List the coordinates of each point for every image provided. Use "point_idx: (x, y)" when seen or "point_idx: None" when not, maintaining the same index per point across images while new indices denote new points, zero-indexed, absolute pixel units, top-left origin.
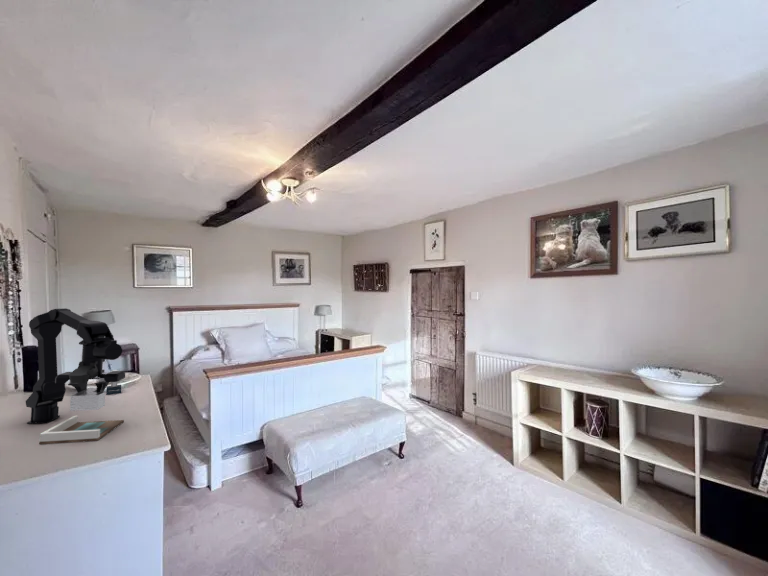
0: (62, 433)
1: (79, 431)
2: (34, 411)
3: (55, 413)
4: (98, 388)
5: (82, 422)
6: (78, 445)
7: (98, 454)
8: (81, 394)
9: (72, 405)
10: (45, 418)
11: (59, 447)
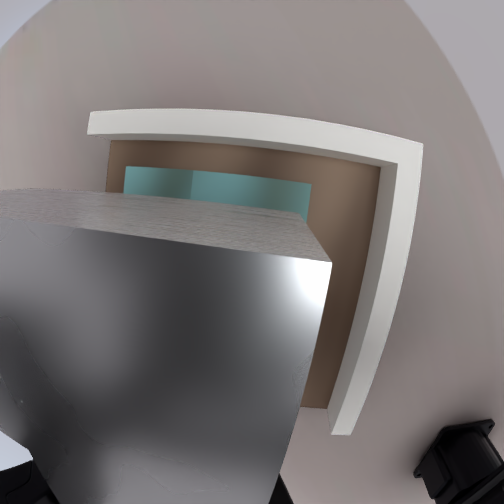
0: (291, 118)
1: (187, 114)
2: (496, 457)
3: (432, 470)
4: (6, 494)
5: (301, 401)
6: (185, 77)
7: (87, 3)
8: (70, 361)
9: (264, 216)
10: (455, 444)
11: (270, 71)
